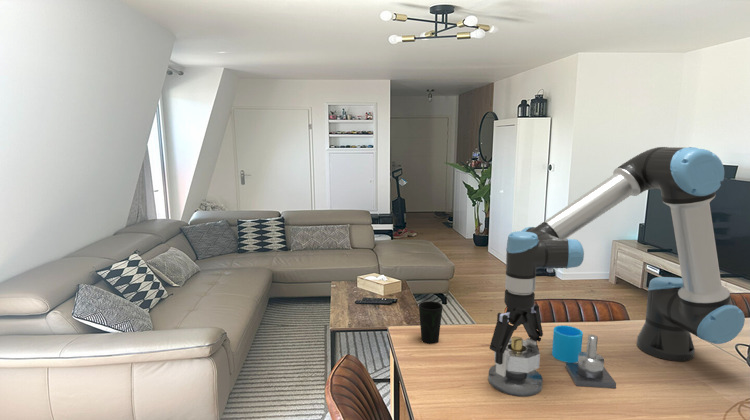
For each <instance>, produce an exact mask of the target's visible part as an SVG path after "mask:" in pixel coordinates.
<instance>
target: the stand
mask: <svg viewBox="0 0 750 420" xmlns="http://www.w3.org/2000/svg"><path fill="white" fill-rule="evenodd" d="M598 338H599V337H598V336H597V335H595V334H588V335H587V340H586V341H587V342H586V344H587V345H586V351H581V352H580V353H579V354H578V362H575V363H568V362H565V369H566V371H567V373H568V374H569V376H570V377H571V379H572V380H573V383H574V384H575V386H577V387H586V388H587V387H589V388H604V389H605V388H606V389H617V382H616V381H615V380H614V378H613V377H612V376H611V374H610V373H609V371H608V370H607V369H606V368H605V366H604V363H605V358H604V356H602V355H600V354H598V353H597V352H598V351H597V349H598Z"/></svg>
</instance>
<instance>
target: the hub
mask: <svg viewBox="0 0 750 420" xmlns="http://www.w3.org/2000/svg"><path fill="white" fill-rule="evenodd" d="M511 338H512V342H511V350H512V351H516V352H522V342H523V339H524V338H523V337H520V336H511ZM487 379H488V382H489V384H490V385H491V386H492V388H494V389H495V390H497V391H498V392H500V393H503V394H505V395H509V396H514V397H522V398H523V397H532V396H535V395H538V394H539V393H540V392H541V391H542V389H543V381H544V380H543V376H542V374H541V373H540V372H539V371H537V369H535V370H533V371H531V372H528V373H524V372H515V371H508V370H506V376H504V377H503V376H501V375H499V374H498V373H496V364H493V365H492V366H490V368H488V378H487Z"/></svg>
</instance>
